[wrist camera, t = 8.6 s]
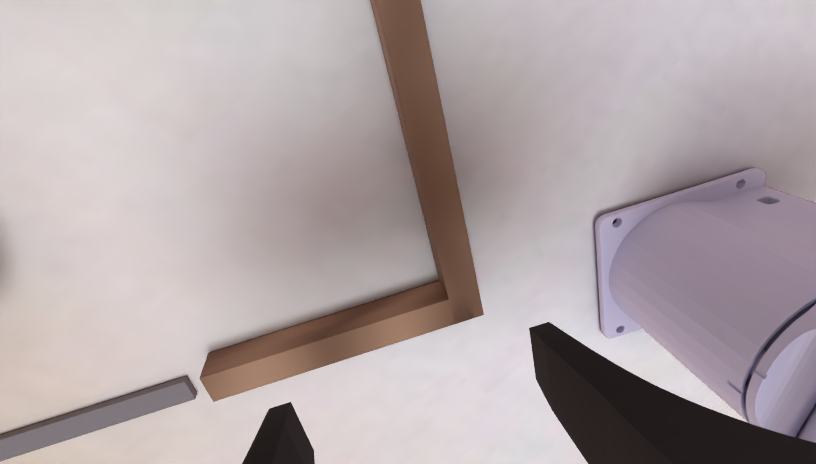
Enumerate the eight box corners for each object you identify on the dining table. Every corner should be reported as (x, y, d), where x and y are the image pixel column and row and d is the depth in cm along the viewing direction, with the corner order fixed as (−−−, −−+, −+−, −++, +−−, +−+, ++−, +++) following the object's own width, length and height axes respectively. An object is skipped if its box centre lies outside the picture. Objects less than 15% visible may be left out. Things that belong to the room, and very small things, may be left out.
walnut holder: (377, -154, 15) (384, -179, 13) (471, 295, 23) (483, 314, 21) (-28, -58, 14) (-73, -71, 12) (221, 375, 22) (213, 401, 21)
